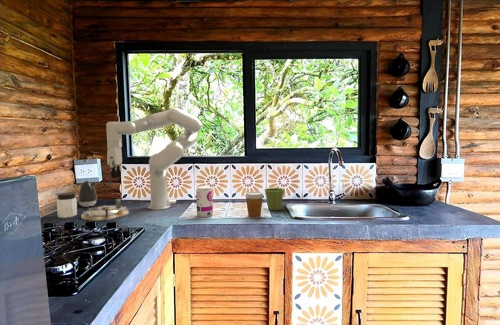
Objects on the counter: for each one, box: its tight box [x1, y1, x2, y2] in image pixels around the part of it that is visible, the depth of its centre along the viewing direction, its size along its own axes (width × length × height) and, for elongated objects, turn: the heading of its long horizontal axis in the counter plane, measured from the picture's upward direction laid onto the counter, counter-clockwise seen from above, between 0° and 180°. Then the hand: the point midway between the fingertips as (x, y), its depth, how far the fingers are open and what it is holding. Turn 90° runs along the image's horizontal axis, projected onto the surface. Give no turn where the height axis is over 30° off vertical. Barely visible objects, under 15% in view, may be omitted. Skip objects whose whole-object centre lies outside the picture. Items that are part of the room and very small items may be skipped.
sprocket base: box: [80, 208, 130, 222], centre depth 171 cm, size 23×23×5 cm
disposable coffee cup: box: [244, 191, 265, 218], centre depth 165 cm, size 10×10×12 cm
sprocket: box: [83, 198, 127, 217], centre depth 170 cm, size 21×21×6 cm
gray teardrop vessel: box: [77, 180, 98, 208], centre depth 193 cm, size 10×10×15 cm
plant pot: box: [263, 187, 286, 211], centre depth 180 cm, size 12×12×11 cm
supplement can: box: [195, 185, 214, 218], centre depth 167 cm, size 8×8×15 cm
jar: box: [56, 191, 78, 219], centre depth 169 cm, size 9×8×12 cm
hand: (116, 176), depth 178 cm, fingers open, 4 cm apart
